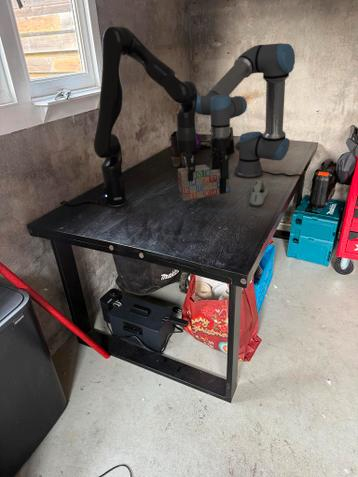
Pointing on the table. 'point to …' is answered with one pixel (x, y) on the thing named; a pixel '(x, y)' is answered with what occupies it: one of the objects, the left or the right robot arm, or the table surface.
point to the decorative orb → (197, 142)
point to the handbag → (231, 146)
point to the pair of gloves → (206, 141)
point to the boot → (175, 150)
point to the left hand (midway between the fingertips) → (188, 178)
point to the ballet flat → (258, 193)
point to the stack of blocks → (200, 183)
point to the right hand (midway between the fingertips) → (219, 190)
